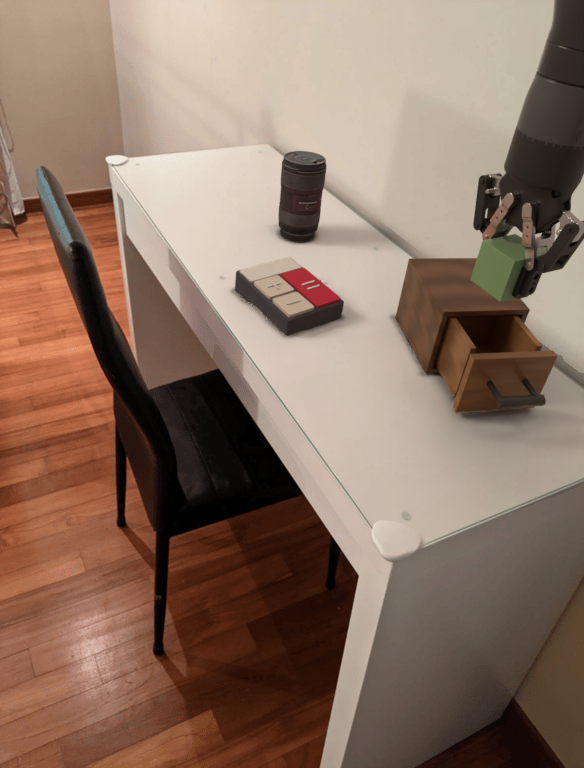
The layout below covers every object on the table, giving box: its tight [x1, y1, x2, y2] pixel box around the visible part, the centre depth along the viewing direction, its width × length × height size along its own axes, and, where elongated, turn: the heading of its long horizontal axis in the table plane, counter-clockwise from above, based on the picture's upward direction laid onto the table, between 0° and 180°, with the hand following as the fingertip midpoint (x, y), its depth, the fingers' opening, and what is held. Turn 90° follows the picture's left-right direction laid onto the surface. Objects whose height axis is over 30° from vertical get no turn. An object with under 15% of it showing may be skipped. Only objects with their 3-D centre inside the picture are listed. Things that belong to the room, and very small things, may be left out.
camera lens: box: [277, 150, 327, 243], centre depth 114 cm, size 8×8×15 cm
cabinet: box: [395, 257, 531, 375], centre depth 91 cm, size 15×13×11 cm
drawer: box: [434, 315, 558, 413], centre depth 82 cm, size 18×11×9 cm, turn 10°
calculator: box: [234, 256, 345, 336], centre depth 98 cm, size 11×4×15 cm
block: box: [470, 233, 538, 302], centre depth 68 cm, size 5×5×5 cm
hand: (502, 283), depth 69 cm, fingers closed on block, 5 cm apart
